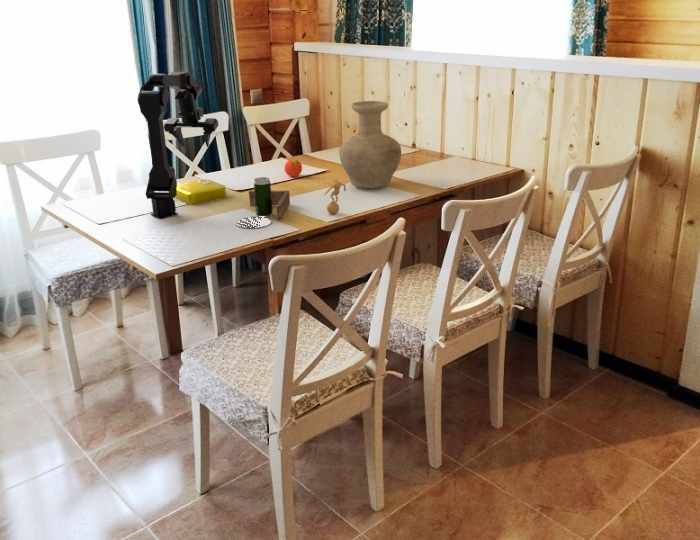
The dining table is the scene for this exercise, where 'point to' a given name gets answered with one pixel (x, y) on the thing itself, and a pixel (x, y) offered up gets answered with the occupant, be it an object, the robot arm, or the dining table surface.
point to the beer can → (263, 196)
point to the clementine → (293, 167)
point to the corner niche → (275, 201)
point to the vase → (370, 149)
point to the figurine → (333, 206)
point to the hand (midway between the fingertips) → (195, 146)
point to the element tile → (200, 191)
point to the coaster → (250, 222)
